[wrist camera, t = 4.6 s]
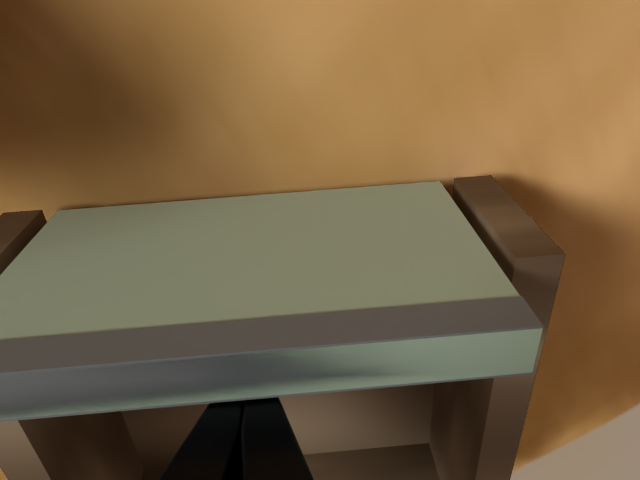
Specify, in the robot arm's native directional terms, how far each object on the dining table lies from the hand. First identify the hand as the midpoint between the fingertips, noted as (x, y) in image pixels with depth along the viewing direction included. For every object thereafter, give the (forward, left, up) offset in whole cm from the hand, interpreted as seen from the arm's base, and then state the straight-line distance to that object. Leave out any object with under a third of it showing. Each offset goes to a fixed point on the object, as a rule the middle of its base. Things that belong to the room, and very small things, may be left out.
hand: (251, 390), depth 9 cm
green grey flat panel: (+2, 0, -5) cm, 5 cm away
